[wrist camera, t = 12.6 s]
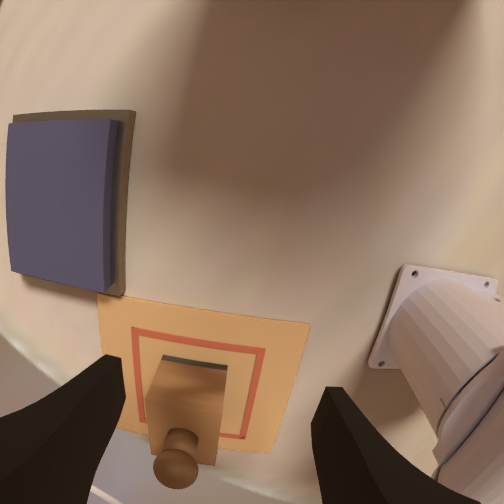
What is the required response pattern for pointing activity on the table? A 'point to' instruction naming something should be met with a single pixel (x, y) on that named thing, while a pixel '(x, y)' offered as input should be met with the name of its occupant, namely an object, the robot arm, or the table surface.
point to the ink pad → (69, 196)
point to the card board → (207, 350)
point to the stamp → (184, 417)
